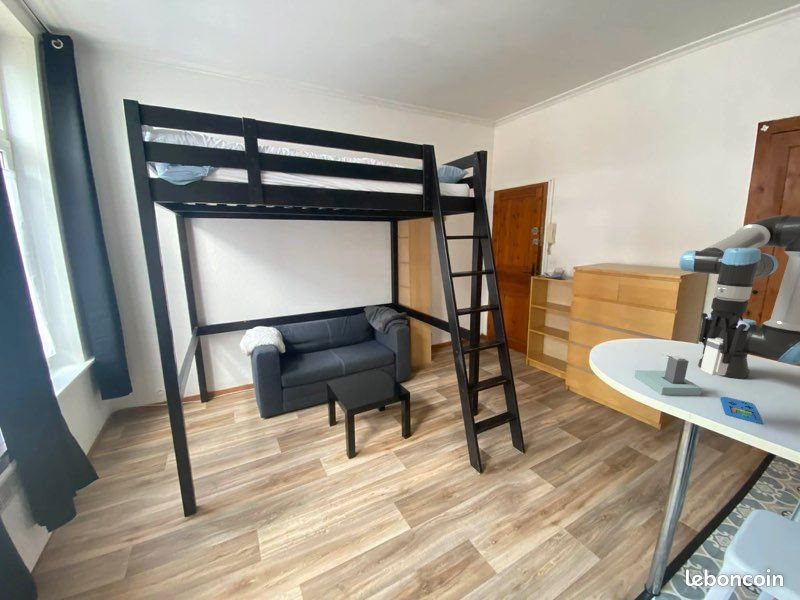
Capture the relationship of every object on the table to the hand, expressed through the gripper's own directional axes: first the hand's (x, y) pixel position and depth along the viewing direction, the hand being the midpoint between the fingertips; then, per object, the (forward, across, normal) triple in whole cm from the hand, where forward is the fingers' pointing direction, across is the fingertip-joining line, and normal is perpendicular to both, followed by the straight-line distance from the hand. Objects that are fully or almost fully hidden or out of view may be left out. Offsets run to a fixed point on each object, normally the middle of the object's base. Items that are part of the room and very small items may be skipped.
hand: (713, 368), depth 100 cm
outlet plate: (+15, -17, +1) cm, 23 cm away
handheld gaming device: (+16, -1, +13) cm, 21 cm away
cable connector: (+1, 0, 0) cm, 1 cm away
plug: (+15, -16, +3) cm, 22 cm away
